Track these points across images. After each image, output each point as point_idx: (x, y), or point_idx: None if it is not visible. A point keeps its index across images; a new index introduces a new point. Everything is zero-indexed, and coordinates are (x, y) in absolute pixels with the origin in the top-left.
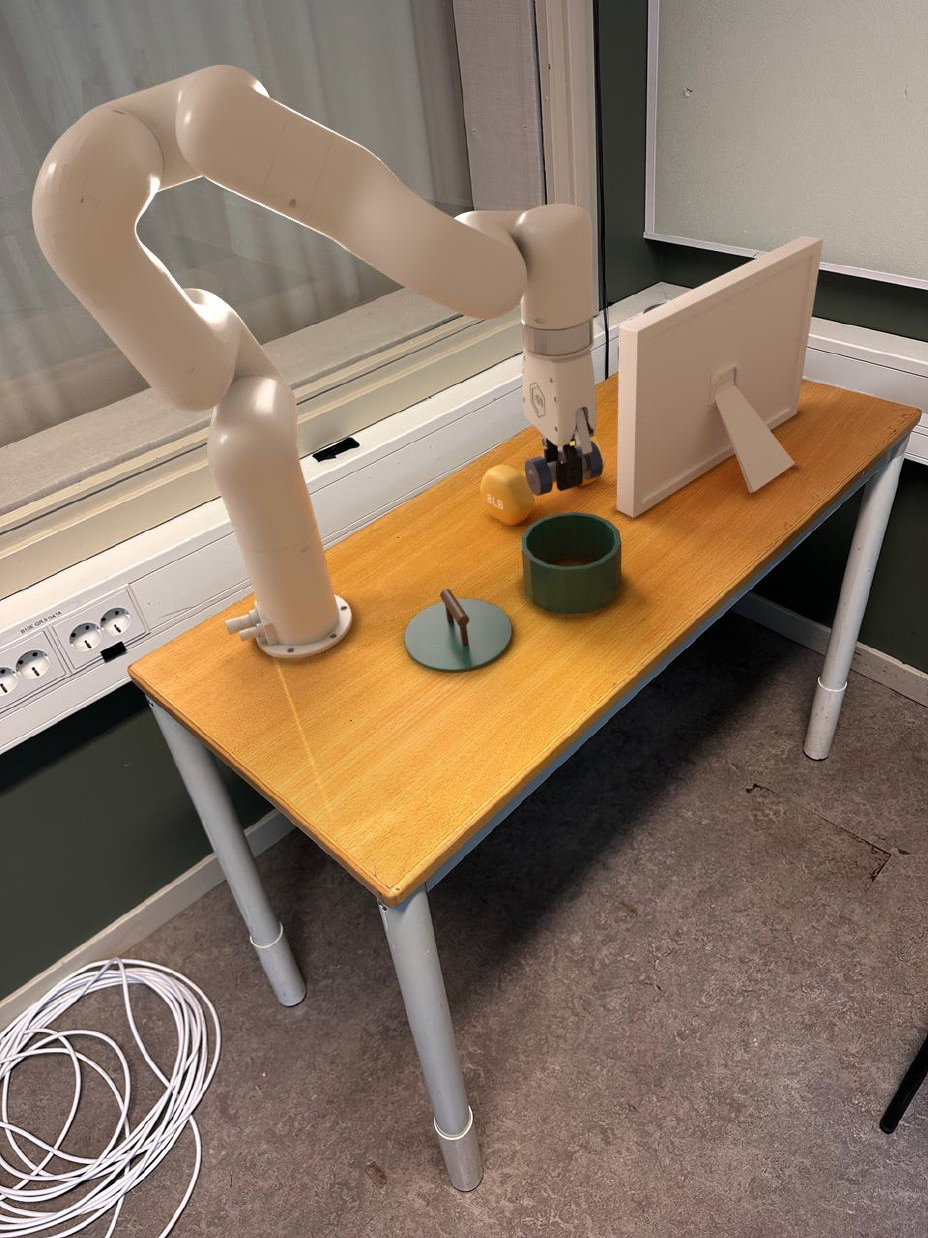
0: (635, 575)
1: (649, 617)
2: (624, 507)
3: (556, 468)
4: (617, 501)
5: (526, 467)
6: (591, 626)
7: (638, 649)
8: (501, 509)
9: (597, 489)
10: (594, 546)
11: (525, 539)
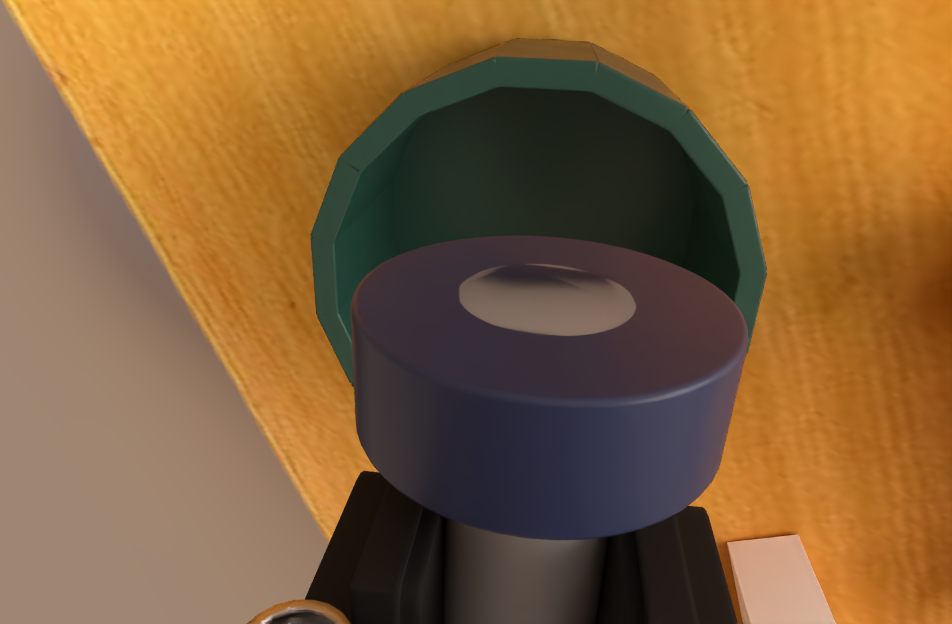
0: None
1: (293, 323)
2: (770, 554)
3: (398, 524)
4: (805, 558)
5: (690, 331)
6: (326, 161)
7: (180, 222)
8: None
9: (947, 554)
10: None
11: (661, 122)
